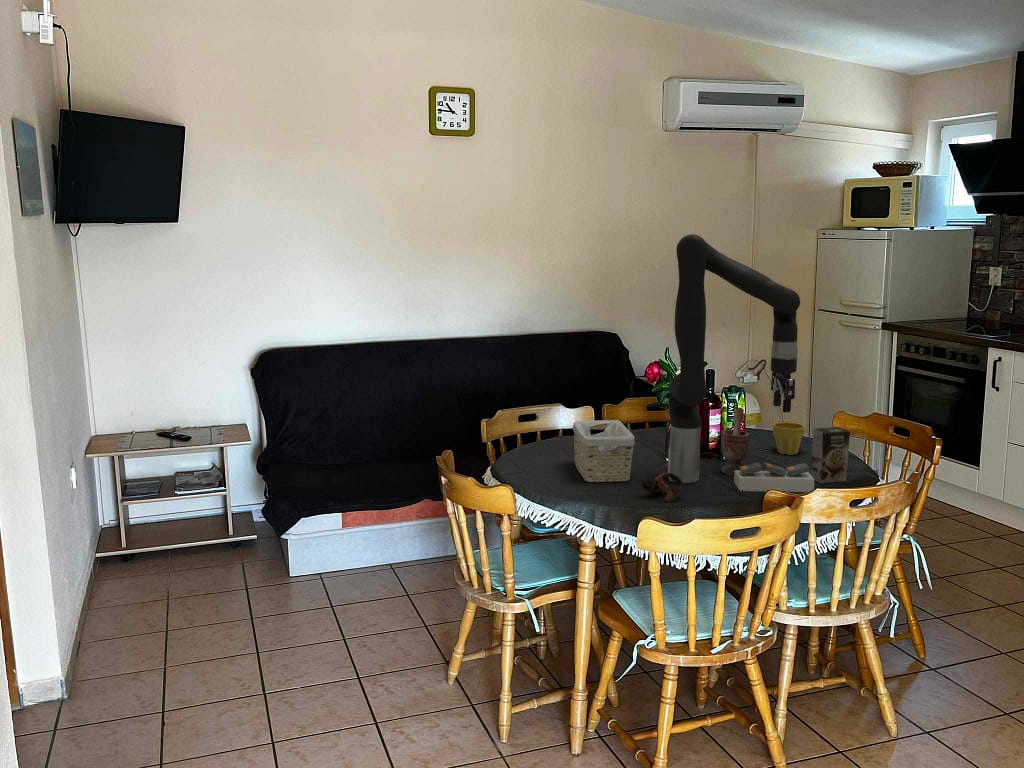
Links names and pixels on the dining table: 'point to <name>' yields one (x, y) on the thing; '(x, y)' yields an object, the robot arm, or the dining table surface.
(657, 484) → the brown looped piece
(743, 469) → the rocker
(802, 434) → the plant pot
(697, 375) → the robot arm
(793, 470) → the rocker
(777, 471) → the rocker
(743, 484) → the power strip
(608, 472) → the storage basket
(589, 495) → the dining table surface
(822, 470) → the brown cookie box
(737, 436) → the mortar and pestle
